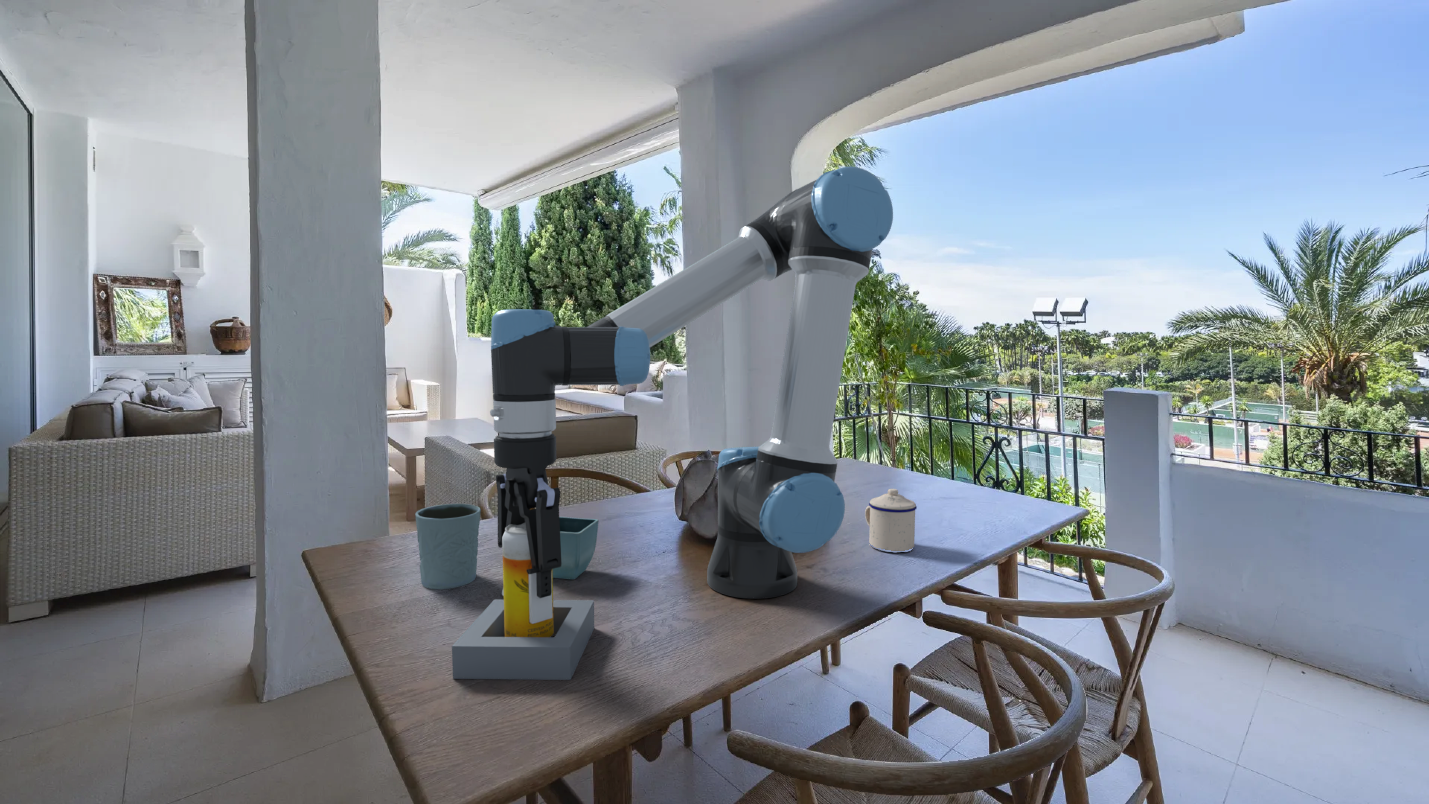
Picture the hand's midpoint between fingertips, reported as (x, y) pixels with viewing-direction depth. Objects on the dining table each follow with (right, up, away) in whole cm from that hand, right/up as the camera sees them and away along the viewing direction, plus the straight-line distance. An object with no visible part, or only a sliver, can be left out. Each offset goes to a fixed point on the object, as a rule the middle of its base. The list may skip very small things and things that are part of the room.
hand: (529, 611), depth 81 cm
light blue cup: (-21, -3, +26) cm, 33 cm away
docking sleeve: (0, -5, 0) cm, 5 cm away
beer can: (0, -4, 0) cm, 4 cm away
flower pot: (-2, -3, +28) cm, 29 cm away
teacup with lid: (+58, -2, +46) cm, 74 cm away
